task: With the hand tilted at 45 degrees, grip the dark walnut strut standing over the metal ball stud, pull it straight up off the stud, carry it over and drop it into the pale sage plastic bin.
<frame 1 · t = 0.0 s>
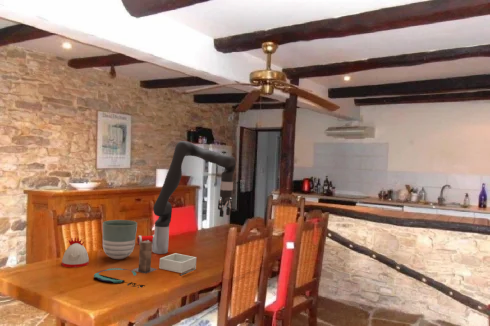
hand: (224, 215, 243), 29 cm above the table, tool pointing down, fingers open, 8 cm apart
toy hammer: (149, 246, 278), on the table
planter: (118, 258, 242), on the table
stud plate: (144, 272, 218), on the table
kitchen timer: (75, 264, 226), on the table
bin: (177, 270, 226), on the table
strut: (144, 269, 218), point 1 cm above the table, touching stud plate
cutlery set: (123, 280, 205), on the table
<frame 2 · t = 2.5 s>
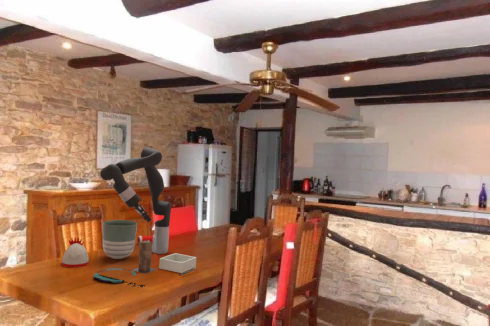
hand: (148, 220, 218), 28 cm above the table, tool tilted 40°, fingers open, 8 cm apart
nothing on the table moved.
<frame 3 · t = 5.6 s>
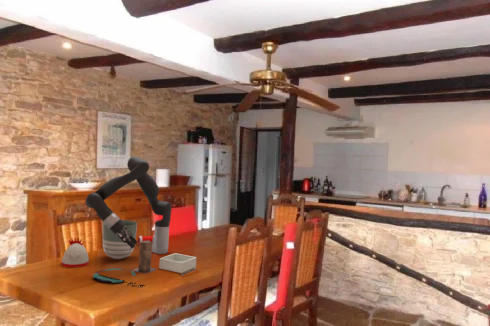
hand: (134, 245, 217), 14 cm above the table, tool tilted 45°, fingers open, 8 cm apart
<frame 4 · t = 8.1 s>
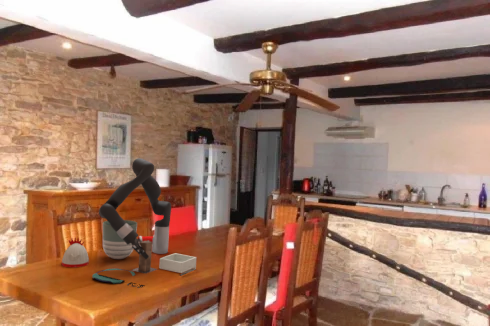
hand: (148, 256, 218), 9 cm above the table, tool tilted 45°, fingers closed on strut, 6 cm apart
strut: (144, 269, 218), point 2 cm above the table, touching gripper, stud plate
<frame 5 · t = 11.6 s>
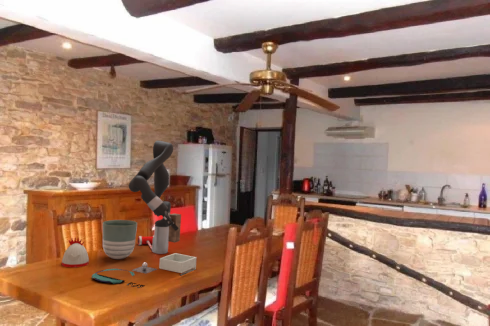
hand: (177, 228, 224), 24 cm above the table, tool tilted 45°, fingers closed on strut, 6 cm apart
strut: (173, 241, 224), point 16 cm above the table, touching gripper
when the fingers open (11 cm above the table, at t = 15.3 s): strut drops 3 cm, resting on bin.
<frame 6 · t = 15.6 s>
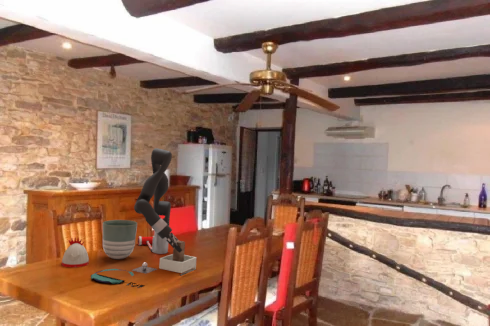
hand: (181, 249, 226), 12 cm above the table, tool tilted 45°, fingers open, 8 cm apart
strut: (177, 268, 226), point 1 cm above the table, touching bin
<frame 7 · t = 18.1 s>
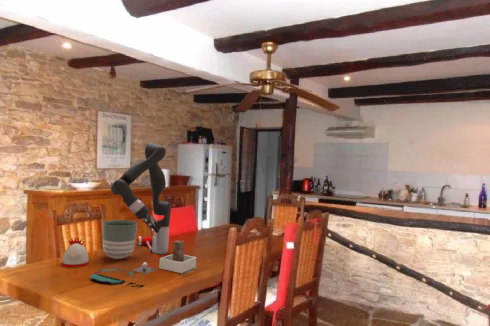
hand: (159, 230, 224), 22 cm above the table, tool tilted 45°, fingers open, 8 cm apart
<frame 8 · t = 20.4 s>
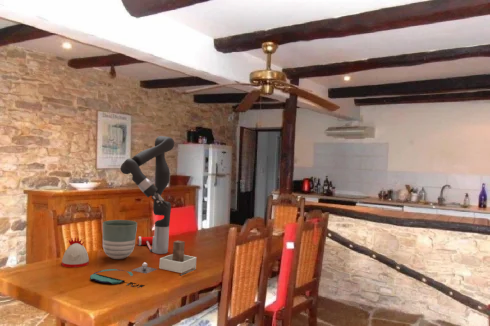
hand: (166, 208, 237), 33 cm above the table, tool tilted 45°, fingers open, 8 cm apart
at the end: strut inside the target area on the bin (0.1 cm from its centre), point 1.0 cm above the bin's base; the gripper is holding nothing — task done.
